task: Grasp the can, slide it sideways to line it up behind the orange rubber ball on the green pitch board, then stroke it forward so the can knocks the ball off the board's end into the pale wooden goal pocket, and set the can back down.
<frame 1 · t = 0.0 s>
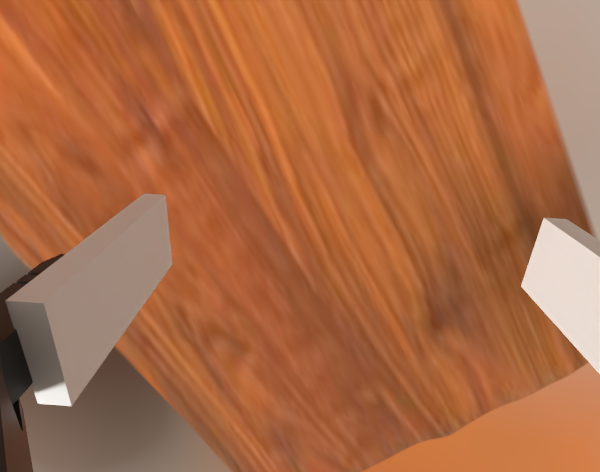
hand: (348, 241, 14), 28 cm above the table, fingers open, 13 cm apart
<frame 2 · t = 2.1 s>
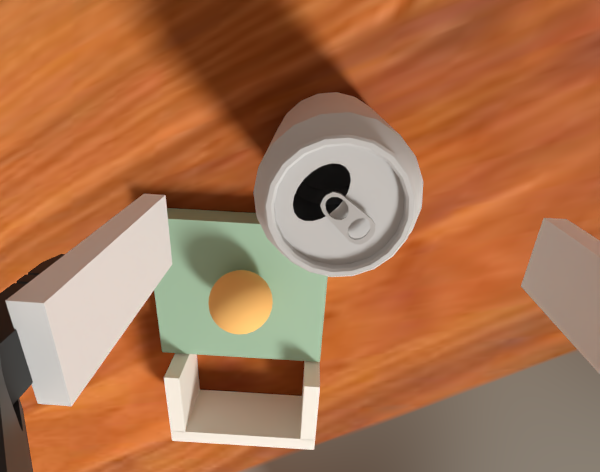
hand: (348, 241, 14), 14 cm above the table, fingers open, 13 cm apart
goal: (250, 342, 34), on the table
pitch board: (243, 281, 31), on the table
can: (329, 148, 27), on the table
ball: (240, 301, 27), point 4 cm above the table, touching pitch board
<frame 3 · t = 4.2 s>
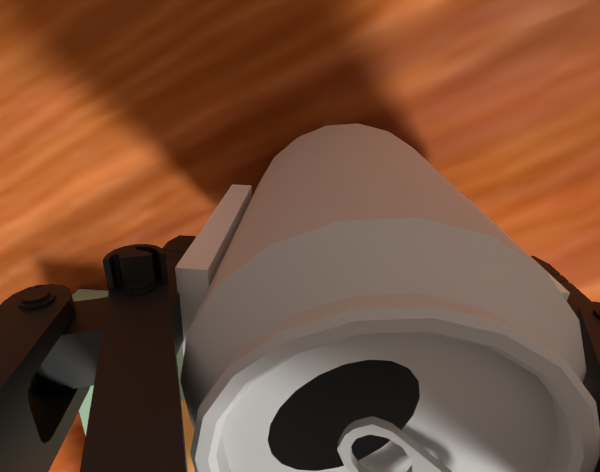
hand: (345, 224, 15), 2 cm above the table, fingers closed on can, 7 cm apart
pitch board: (215, 389, 21), on the table
can: (343, 207, 17), on the table, touching gripper
ball: (203, 446, 17), point 4 cm above the table, touching pitch board
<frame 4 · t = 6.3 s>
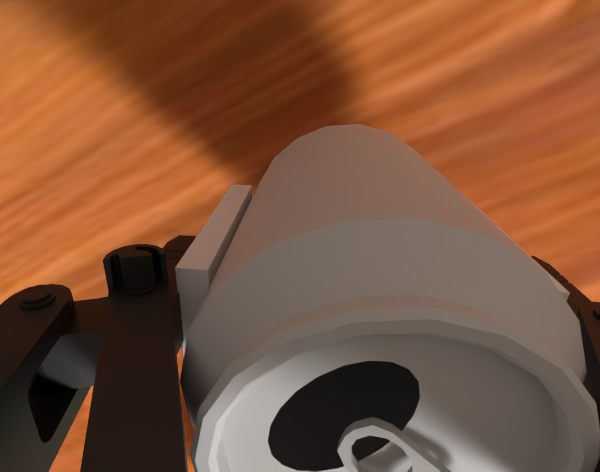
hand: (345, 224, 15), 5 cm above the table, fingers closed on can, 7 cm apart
can: (343, 208, 17), point 3 cm above the table, touching gripper
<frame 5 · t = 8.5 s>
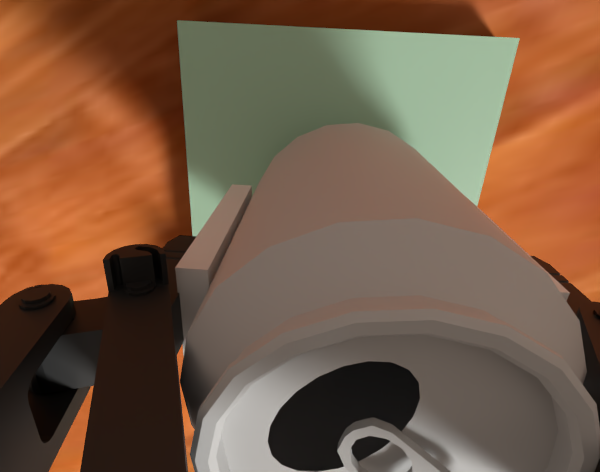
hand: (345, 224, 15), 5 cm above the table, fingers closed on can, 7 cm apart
pitch board: (332, 170, 19), on the table
can: (343, 207, 17), point 3 cm above the table, touching gripper
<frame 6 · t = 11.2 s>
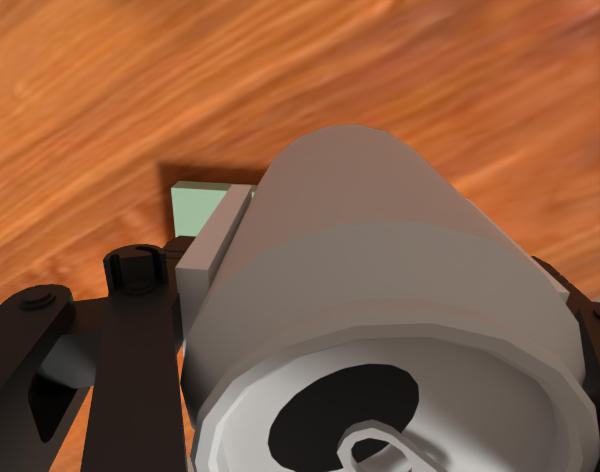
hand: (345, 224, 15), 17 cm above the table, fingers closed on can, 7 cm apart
pitch board: (256, 249, 35), on the table
can: (343, 208, 17), point 15 cm above the table, touching gripper
when the fingers open (3 cm above the table, at t = 13.7 s): can stays where it is, on the table.
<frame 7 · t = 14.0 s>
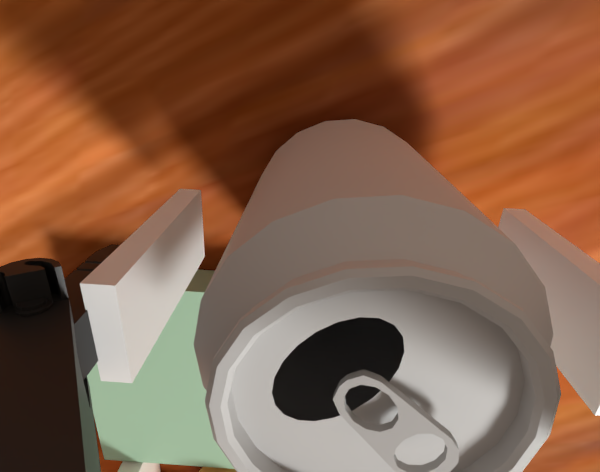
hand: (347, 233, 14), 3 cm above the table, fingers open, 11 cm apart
goal: (230, 439, 24), on the table
pitch board: (219, 363, 22), on the table
can: (341, 199, 18), on the table
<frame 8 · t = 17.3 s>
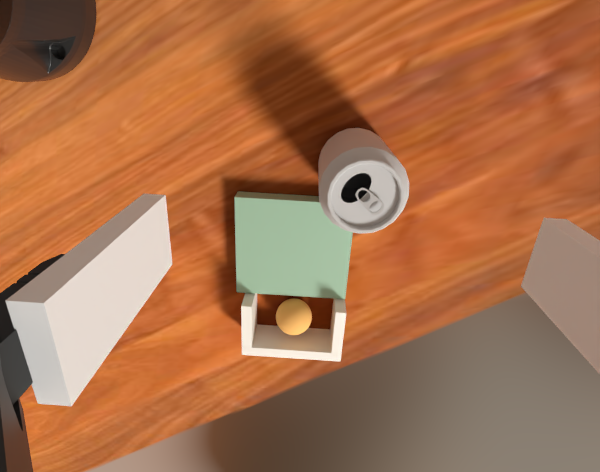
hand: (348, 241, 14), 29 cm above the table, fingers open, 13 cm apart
goal: (295, 288, 48), on the table
pitch board: (293, 243, 46), on the table
can: (353, 161, 42), on the table
ball: (293, 316, 47), point 2 cm above the table, tilted 86°
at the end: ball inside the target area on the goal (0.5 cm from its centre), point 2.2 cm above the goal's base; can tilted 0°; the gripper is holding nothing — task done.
